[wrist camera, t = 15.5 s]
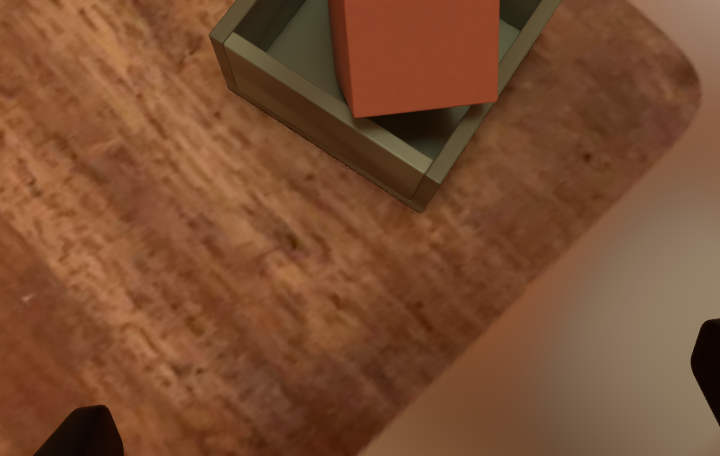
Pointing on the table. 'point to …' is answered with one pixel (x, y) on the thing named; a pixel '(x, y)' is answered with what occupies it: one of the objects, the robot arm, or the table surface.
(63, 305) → the table surface
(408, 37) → the tea carton
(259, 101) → the box
